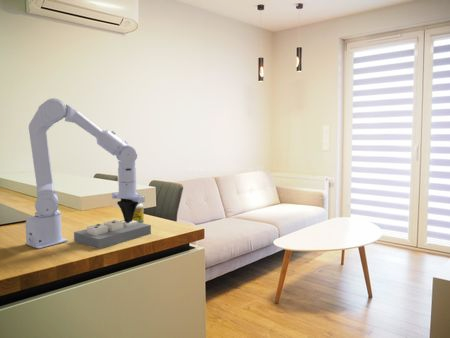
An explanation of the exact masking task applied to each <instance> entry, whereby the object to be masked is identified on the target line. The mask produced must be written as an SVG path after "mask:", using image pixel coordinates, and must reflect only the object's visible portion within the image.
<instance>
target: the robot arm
mask: <svg viewBox="0 0 450 338" xmlns="http://www.w3.org/2000/svg"><path fill="white" fill-rule="evenodd" d="M63 119H64V122H66V123H67V122H68V123H73V124H76V125H77V126H78V127H80V128H81V129H83V130H84V131H86V132H87V133H88V134H89V135H91V136H93V137H94V138H96V143H97V145H98V146H99V147H100V148H102V149H104V150H105V151H107V153H110V154H111V155H112V156H115V157H116V159H117V160H118V161H117V162H118V167H117V175H118V177H117V179H118V191H116V192H111V199H114V200H115V199H117V200H120V201H117V202H116V203H117V205H118V207H119V208H120V209H119V210H120V211H121V213H122V215H123V216H122V217H123V220H125V222H131V221H132V219H133V215H134V211H135V209H136V206H137V205H138V203H141V204H143V203H145V196H144V195H141V194H139V193H138V192H137V169H136V168H137V167H136V160H137V158H138V154H137V152H136V149H135V147H133V146H130V145H128V142H127V141H126V140H122V139H121V138H120V137H119V136H117V135H116V132H115V130H114V131H113V130H112V131H111V130H109V129H105V130H102V129H101V128H100V127H99V126H97V125H96V124H95V123H94V122H92V121H91V120H90V119H88V117H86V116H85V115H84V114H82V113H81V112H80V111H79V110H76V109H75V108H73V107H72V106H70V105H68V104H67V103H66V104H65V103H64V101H62V100H60V99H58V98H55V97H54V98H49V99H47V100H45V101H44V102H42V103H41V104H40V105H39V106H38V107H37V111H36V112H35V114H34V115H33V117H32V119H31V121H30V122H29V124H28V133H29V140H30V146H31V148H30V149H31V153H32V160H33V161H32V162H33V170H34V177H35V185H36V196H37V197H36V200H35V203H34V208H35V210H36V212H34V216H31V217H28V218H27V219H26V220H25V236H26V238H25V239H26V242H25V245H27V246H30V247H33V248H34V249H35V248H36V249H42V248H46V247H51V246H54V245H58V244H62V243H65V242H68V241H69V240H68V239H69V238H68V239H67V238H64V237H63V234H62V233H63V231H62V211H61V210H59V209H58V208H59V205H60V204H59V202H60V199H59V195H58V194H57V192H56V191H55V185H54V179H53V173H52V165H51V158H50V157H51V156H50V150H49V145H48V144H49V142H48V135H47V131H49V129H50V128H52V127H53V126H54V124H56V123H58V122H59V121H62V120H63Z"/></svg>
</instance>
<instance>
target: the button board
mask: <svg viewBox="0 0 450 338" xmlns="http://www.w3.org/2000/svg"><path fill="white" fill-rule="evenodd" d="M120 221H121V222H122V221H125V220H124V219H123V220H120ZM151 234H152V227H151V224H147V223H139V222H138V225H135V226H131V227H124V228H123V229H119V230H115V231H108V233H104V234H100V235H96V236H94V235H90V234H87V228H85V229H81V230H78V231H74V232H73V241H74V242H75V243H78V244H81V245H84V246H87V247H91V248H94V249H97V250H102V249H105V248H108V247H112V246H115V245H118V244H122V243H124V242H128V241H131V240H134V239H135V240H136V239H138V238H141V237H145V236H148V235H151Z"/></svg>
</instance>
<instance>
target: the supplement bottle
mask: <svg viewBox="0 0 450 338" xmlns="http://www.w3.org/2000/svg"><path fill="white" fill-rule="evenodd" d="M132 220H134V221H138V222H139V223H143V224H145V219H144V204H143V203H138V205H137V206H136V209H135V211H134V215H133V219H132Z"/></svg>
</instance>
